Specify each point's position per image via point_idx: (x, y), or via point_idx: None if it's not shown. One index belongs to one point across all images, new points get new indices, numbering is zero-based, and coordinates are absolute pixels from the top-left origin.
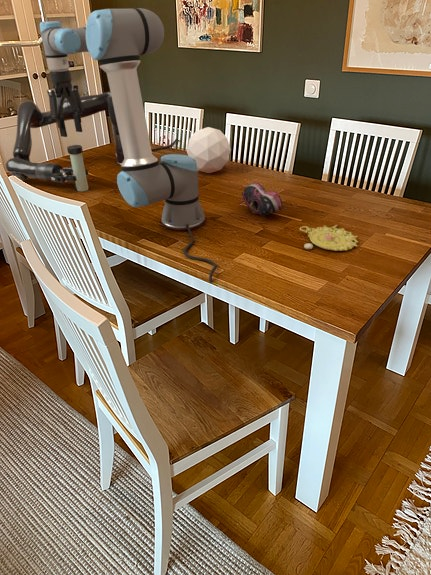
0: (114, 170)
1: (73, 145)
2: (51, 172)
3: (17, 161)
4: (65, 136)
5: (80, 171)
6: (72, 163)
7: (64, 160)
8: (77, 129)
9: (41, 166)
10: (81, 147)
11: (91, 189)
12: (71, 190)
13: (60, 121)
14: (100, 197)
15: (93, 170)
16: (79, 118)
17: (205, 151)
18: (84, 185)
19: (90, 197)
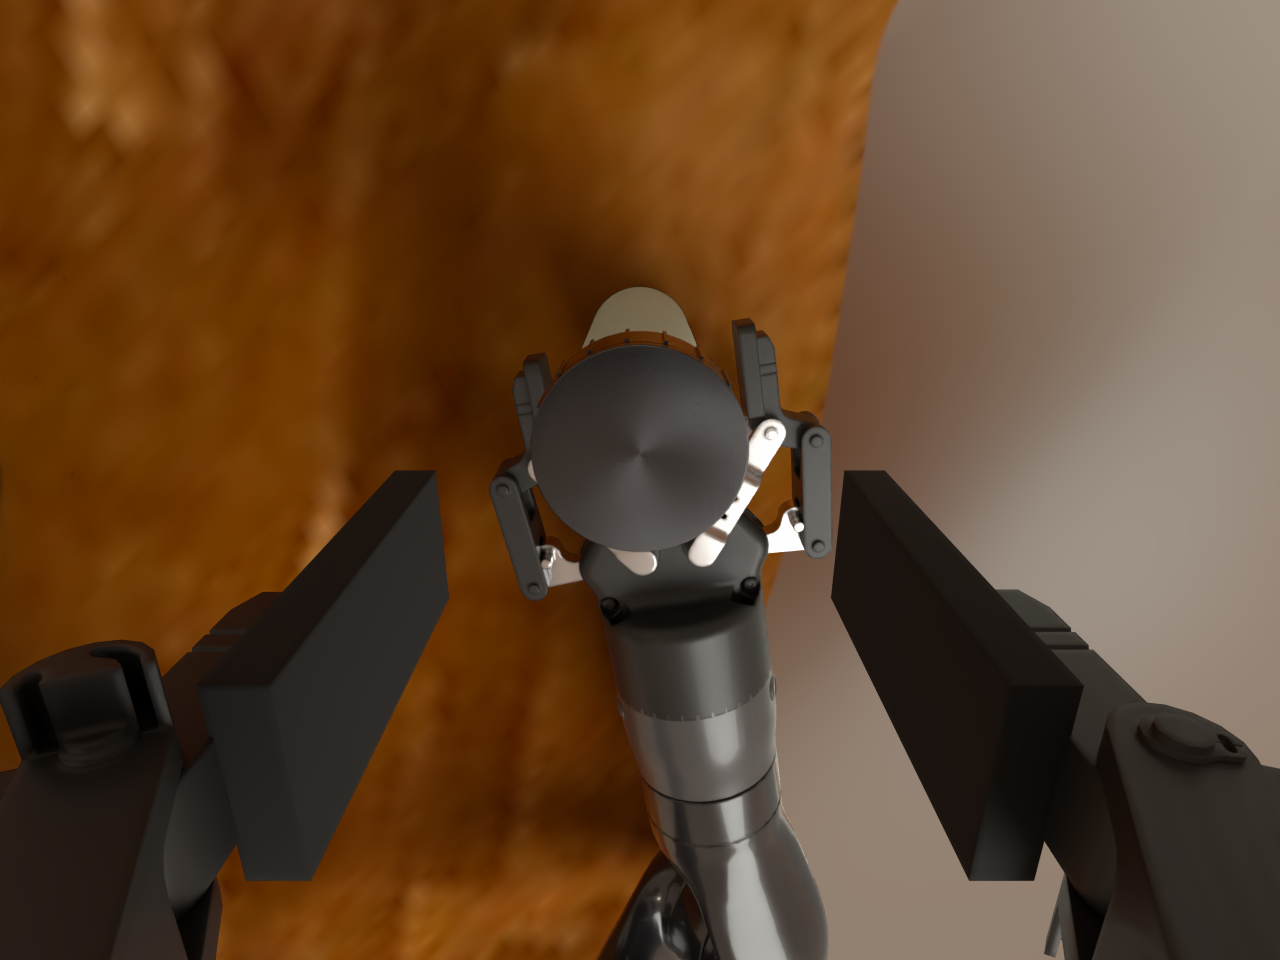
0: (126, 423)
1: (588, 518)
2: (760, 604)
3: (775, 952)
4: (888, 484)
5: (673, 321)
6: None
7: None
8: (433, 575)
9: (749, 736)
10: (583, 359)
11: (603, 266)
12: None
13: (1094, 694)
14: (732, 25)
15: (241, 585)
16: (287, 614)
17: None
18: (657, 295)
19: (767, 124)
